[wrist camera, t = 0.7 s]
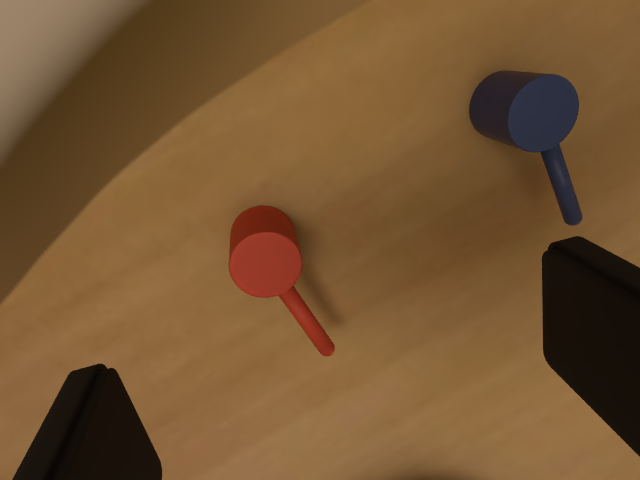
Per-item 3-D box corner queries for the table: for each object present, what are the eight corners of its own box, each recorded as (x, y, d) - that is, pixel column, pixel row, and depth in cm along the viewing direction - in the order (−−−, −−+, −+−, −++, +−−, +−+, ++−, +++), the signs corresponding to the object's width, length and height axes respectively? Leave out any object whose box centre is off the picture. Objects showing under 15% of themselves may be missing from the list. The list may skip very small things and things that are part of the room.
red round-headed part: (217, 226, 28) (213, 256, 24) (273, 193, 28) (278, 218, 24) (295, 332, 32) (303, 374, 28) (345, 304, 32) (360, 342, 28)
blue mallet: (459, 93, 28) (497, 100, 23) (518, 57, 27) (567, 58, 23) (510, 218, 31) (550, 243, 27) (562, 188, 31) (610, 209, 27)
